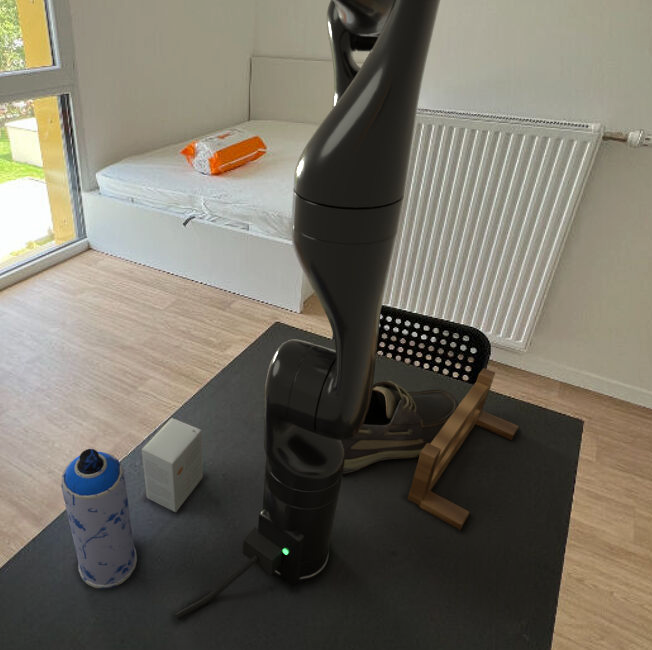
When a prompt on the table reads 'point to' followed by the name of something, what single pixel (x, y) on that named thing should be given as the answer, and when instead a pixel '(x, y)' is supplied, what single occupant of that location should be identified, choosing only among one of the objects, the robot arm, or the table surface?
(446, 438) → the wooden display stand
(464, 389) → the table surface
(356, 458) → the boat shoe
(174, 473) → the small box
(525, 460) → the table surface
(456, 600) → the table surface
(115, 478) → the aerosol can
